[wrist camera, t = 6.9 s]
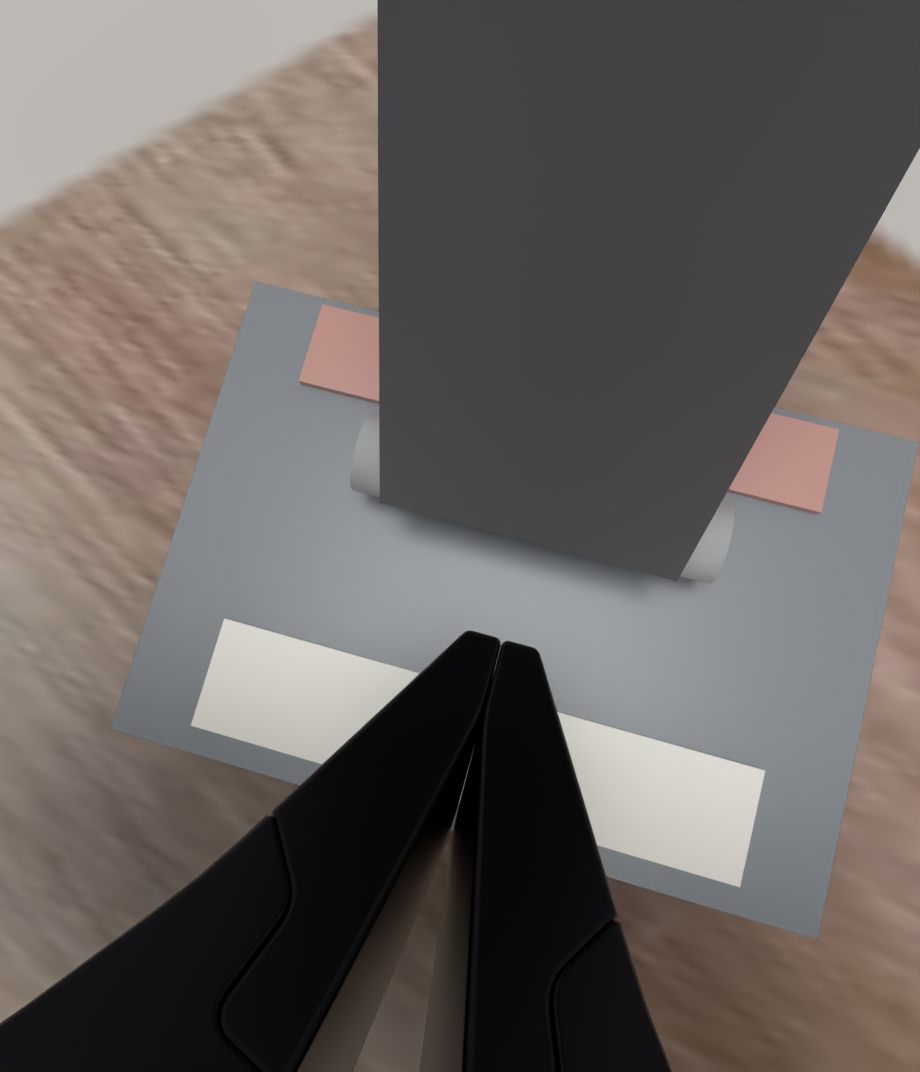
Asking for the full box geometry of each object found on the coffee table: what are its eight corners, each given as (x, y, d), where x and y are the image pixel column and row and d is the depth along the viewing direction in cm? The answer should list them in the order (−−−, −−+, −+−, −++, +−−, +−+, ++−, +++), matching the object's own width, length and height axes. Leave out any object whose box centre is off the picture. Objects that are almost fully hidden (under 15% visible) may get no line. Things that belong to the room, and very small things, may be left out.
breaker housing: (754, 883, 17) (822, 943, 14) (183, 715, 18) (105, 729, 15) (840, 482, 18) (923, 438, 15) (299, 348, 20) (252, 276, 16)
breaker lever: (717, 632, 14) (2134, -1381, 3) (324, 527, 14) (122, -1467, 3) (728, 514, 15) (1661, -1085, 4) (371, 424, 16) (344, -1184, 5)
